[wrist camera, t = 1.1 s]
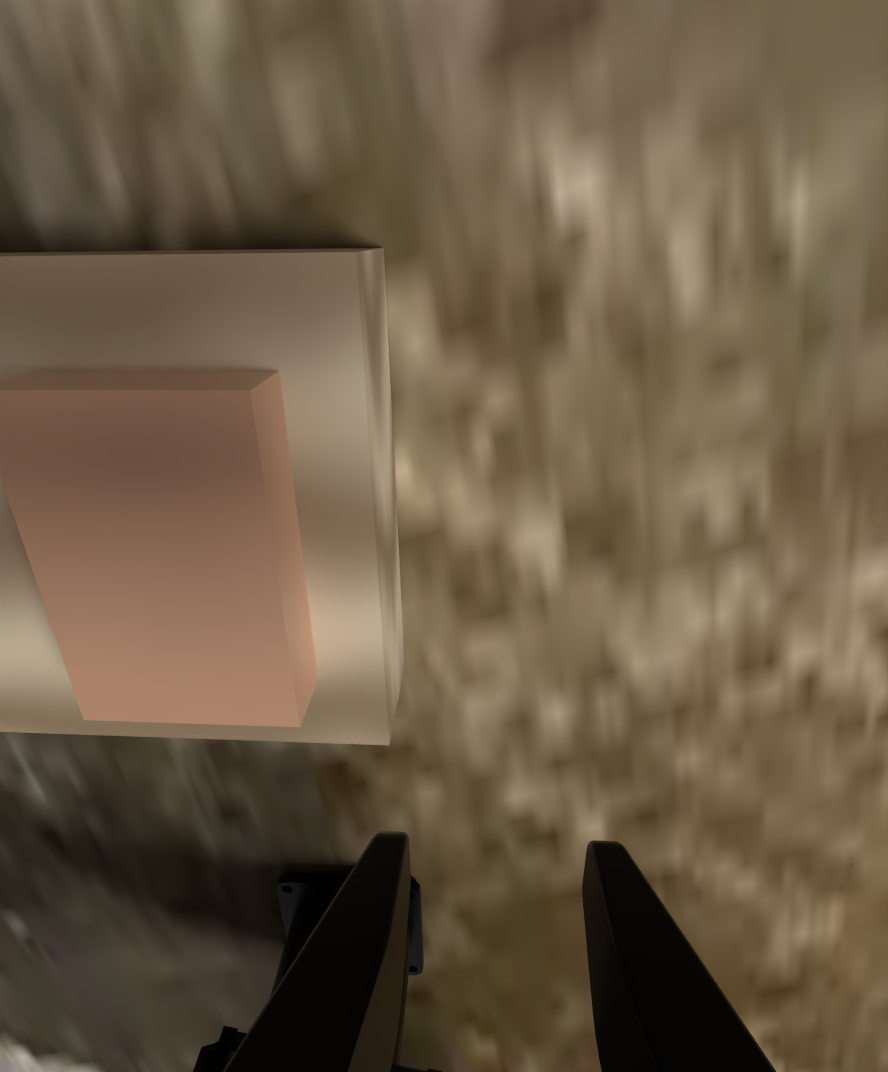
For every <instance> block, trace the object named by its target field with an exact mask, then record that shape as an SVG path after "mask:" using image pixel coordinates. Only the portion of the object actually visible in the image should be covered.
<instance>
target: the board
mask: <svg viewBox="0 0 888 1072" xmlns="http://www.w3.org/2000/svg"><path fill="white" fill-rule="evenodd" d="M31 371H279V373H280V381H281V389H282V396H283V404H284V412H285V420H286V428H287V436H288V444H289V452H290V460H291V468H292V476H293V484H294V492H295V500H296V508H297V516H298V524H299V531H300V539H301V547H302V555H303V563H304V571H305V579H306V587H307V595H308V603H309V611H310V619H311V627H312V635H313V643H314V651H315V659H316V666H317V674H318V681H317V684H316V686H315V689H314V692H313V694H312V697H311V700H310V702H309V705H308V708H307V710H306V713H305V716H304V718H303V721H302V724H301V726H300V727H275V726H245V725H215V724H185V723H155V722H125V721H95V720H84V719H83V716H82V714H81V711H80V708H79V705H78V702H77V699H76V696H75V693H74V690H73V687H72V684H71V681H70V679H69V676H68V673H67V670H66V667H65V664H64V661H63V658H62V655H61V652H60V649H59V647H58V644H57V641H56V638H55V635H54V632H53V629H52V626H51V623H50V620H49V617H48V614H47V612H46V609H45V606H44V603H43V600H42V597H41V594H40V591H39V588H38V585H37V582H36V580H35V577H34V574H33V571H32V568H31V565H30V562H29V559H28V556H27V553H26V550H25V547H24V545H23V542H22V539H21V536H20V533H19V530H18V527H17V524H16V521H15V518H14V515H13V513H12V510H11V507H10V504H9V501H8V498H7V495H6V492H5V489H4V486H3V483H2V481H1V478H0V732H25V733H54V734H82V735H111V736H140V737H169V738H197V739H226V740H255V741H283V742H312V743H341V744H369V745H390V740H391V734H392V729H393V724H394V718H395V713H396V708H397V702H398V697H399V692H400V686H401V681H402V676H403V670H404V647H403V627H402V606H401V586H400V566H399V546H398V526H397V506H396V486H395V466H394V446H393V426H392V406H391V385H390V365H389V345H388V325H387V305H386V285H385V265H384V248H323V249H244V250H165V251H86V252H7V253H0V381H1V380H5V379H8V378H11V377H14V376H18V375H21V374H24V373H27V372H31Z"/></svg>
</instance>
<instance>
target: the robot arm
mask: <svg viewBox="0 0 888 1072" xmlns="http://www.w3.org/2000/svg"><path fill="white" fill-rule="evenodd" d="M276 890H277V895H278V900H279V905H280V910H281V915H282V920H283V925H284V930H285V935H286V943H285V946H284V950H283V953H282V957H281V961H280V964H279V968H278V971H277V975H276V978H275V982H274V985H273V989H272V993H271V996H270V999H269V1000H268V1002H267V1003H266V1005H265V1007H264V1008H263V1010H262V1011H261V1013H260V1014H259V1016H258V1017H257V1019H256V1021H255V1022H254V1024H253V1025H252V1027H251V1028H250V1030H249V1032H248V1033H242V1032H237V1030H238V1029H237V1028H233V1027H228V1026H224V1028H223V1030H222V1033H221V1036H220V1039H219V1041H218V1042H216V1043H214V1044H211V1045H207V1046H204V1047H201V1050H200V1053H199V1056H198V1059H197V1062H196V1065H195V1068H194V1070H193V1072H442V1071H439V1070H434V1069H429V1068H428V1070H427V1071H424V1070H420V1069H415V1068H410V1067H405V1066H400V1065H399V1062H400V1053H401V1043H402V1033H403V1024H404V1014H405V1004H406V995H407V985H408V975H418V974H420V973H421V972H422V971H423V962H424V959H423V936H422V914H421V891H420V885H419V884H418V883H417V882H415V881H413V880H411V874H410V854H409V838H408V835H407V834H406V833H404V832H392V831H380V832H378V833H376V834H375V835H374V837H373V838H372V839H371V841H370V843H369V844H368V846H367V847H366V849H365V850H364V852H363V854H362V855H361V857H360V858H359V860H358V861H357V863H356V864H355V866H354V868H353V869H352V871H351V872H350V874H349V875H348V877H341V876H320V875H299V874H284V875H282V876H281V877H280V878H279V880H278V884H277V888H276ZM582 894H583V908H584V919H585V930H586V941H587V952H588V964H589V975H590V986H591V997H592V1008H593V1017H594V1026H595V1034H596V1041H597V1047H598V1053H599V1059H600V1064H601V1070H602V1072H776V1070H775V1069H774V1067H773V1066H772V1064H771V1063H770V1061H769V1060H768V1058H767V1057H766V1056H765V1054H764V1053H763V1051H762V1050H761V1048H760V1047H759V1045H758V1044H757V1042H756V1041H755V1039H754V1038H753V1036H752V1035H751V1033H750V1032H749V1030H748V1029H747V1027H746V1026H745V1024H744V1023H743V1022H742V1020H741V1019H740V1017H739V1016H738V1014H737V1013H736V1011H735V1010H734V1008H733V1007H732V1005H731V1004H730V1002H729V1001H728V999H727V998H726V996H725V995H724V993H723V992H722V990H721V989H720V987H719V986H718V985H717V983H716V982H715V980H714V979H713V977H712V976H711V974H710V973H709V971H708V970H707V968H706V967H705V965H704V964H703V962H702V961H701V959H700V958H699V956H698V955H697V953H696V952H695V950H694V949H693V948H692V946H691V945H690V943H689V942H688V940H687V939H686V937H685V936H684V934H683V933H682V931H681V930H680V928H679V927H678V925H677V924H676V922H675V921H674V919H673V918H672V916H671V915H670V914H669V912H668V911H667V909H666V908H665V906H664V905H663V903H662V902H661V900H660V899H659V897H658V896H657V894H656V893H655V891H654V890H653V888H652V887H651V885H650V884H649V882H648V881H647V879H646V878H645V877H644V875H643V874H642V872H641V871H640V869H639V868H638V866H637V865H636V863H635V862H634V860H633V859H632V857H631V856H630V854H629V853H628V851H627V850H626V849H625V847H624V846H623V845H622V844H620V843H619V842H616V841H595V840H594V841H591V842H589V844H588V846H587V852H586V860H585V868H584V875H583V886H582Z"/></svg>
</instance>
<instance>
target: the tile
mask: <svg viewBox="0 0 888 1072" xmlns="http://www.w3.org/2000/svg"><path fill="white" fill-rule="evenodd" d="M0 478H1V481H2V483H3V486H4V489H5V492H6V495H7V498H8V501H9V504H10V507H11V510H12V513H13V515H14V518H15V521H16V524H17V527H18V530H19V533H20V536H21V539H22V542H23V545H24V547H25V550H26V553H27V556H28V559H29V562H30V565H31V568H32V571H33V574H34V577H35V580H36V582H37V585H38V588H39V591H40V594H41V597H42V600H43V603H44V606H45V609H46V612H47V614H48V617H49V620H50V623H51V626H52V629H53V632H54V635H55V638H56V641H57V644H58V647H59V649H60V652H61V655H62V658H63V661H64V664H65V667H66V670H67V673H68V676H69V679H70V681H71V684H72V687H73V690H74V693H75V696H76V699H77V702H78V705H79V708H80V711H81V714H82V716H83V719H84V720H95V721H125V722H155V723H185V724H215V725H245V726H275V727H300V726H301V724H302V721H303V718H304V716H305V713H306V710H307V708H308V705H309V702H310V700H311V697H312V694H313V692H314V689H315V686H316V684H317V681H318V674H317V666H316V659H315V651H314V643H313V635H312V627H311V619H310V611H309V603H308V595H307V587H306V579H305V571H304V563H303V555H302V547H301V539H300V531H299V524H298V516H297V508H296V500H295V492H294V484H293V476H292V468H291V460H290V452H289V444H288V436H287V428H286V420H285V412H284V404H283V396H282V389H281V381H280V373H279V371H31V372H27V373H24V374H21V375H18V376H14V377H11V378H8V379H5V380H1V381H0Z"/></svg>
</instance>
